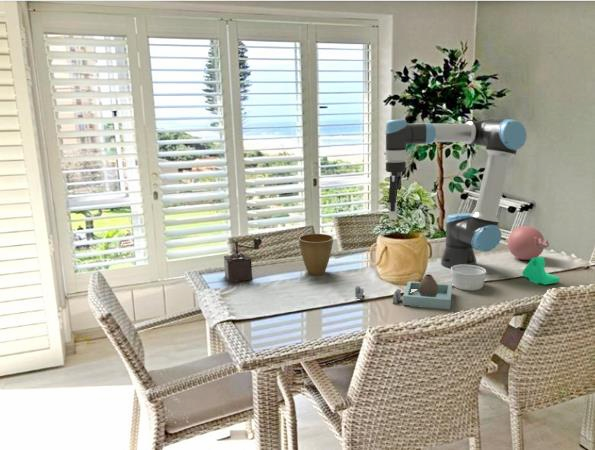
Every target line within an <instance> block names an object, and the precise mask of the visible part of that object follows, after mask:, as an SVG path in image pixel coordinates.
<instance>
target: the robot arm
mask: <svg viewBox="0 0 595 450" xmlns="http://www.w3.org/2000/svg"><path fill="white" fill-rule="evenodd" d="M526 141H527V130H526V127H525V126H524V124H523V123H522V122H521V121H519V120H518V119H517V120H516V119H510V118H506V119H505V118H504V119H503V118H498V119H495V118H488V119H482V120H474V121H473V120H471V121H470V120H469V121H466V122H464V123H426V122H425V123H419V122H417V123H411V122H410V123H407V120H406V119H391V120H390V119H389V120H387V121H386V125H385V152H384V153H383V154H384V155H385V160H386V162H385V171H386V172H387V173H391V175H390V176H389V188H388V189H389V191H388V199H387V201H386V203H387V204H388V205H389V206H388V207H389V208H388V209H389V210H388V212H389V213H388V220H391V221H393V220H394V221H395V220H397V217H398V216H397V214H398V212H397V202H396V198H397V190H398V189H399V190H400V189H401V188H402V173H404V172H405V171H406V170H407V169H406V168H407V167H406V166H407V163H406V160H407V146H408V145H423V144H424V145H426V144H431V143H464V144H465V145H474V146H481V147H484V148H485V147H486V148H485V152H486V153H487V159H486V164H485V168H484V172H483V176H482V180H481V184H480V188H479V193H478V196H477V197H478V198H477V201H476V205H475V209H474V212H472V213H470V212H469V213H467V212H465V213H452V214H449V215H447V216H446V222H445V247H444V250H443V252H442V256H441V259H440V264H441V265H442V266H443V267H446V268H450V269H451V267H453V266H456V265H475V266H477V257H476V254H475V251H474V250H476V251H481V252H490V251H492V250H493V249H496V247H497V246H498V245H499V244H500V242H501V239H502V232H501V229H500V228H499V223H500V220H499V219H498V217H497V215H498V209H499V206H500V203H501V198H502V194H503V189H504V186H505V183H506V179H507V178H506V177H507V174H508V171H509V166H510V162H511V159H513V158H514V157H515V156H516V155H517V150H520V149H521V148H522V147H523V146H524V145H525V144H526Z"/></svg>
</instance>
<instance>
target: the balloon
mask: <svg viewBox="0 0 595 450" xmlns="http://www.w3.org/2000/svg"><path fill="white" fill-rule="evenodd" d="M549 246H550V243H549V240H548V239H545V238H544V235H543V234H542V232H541V231H540V230H539V229H537V228H535V227H533V226H529V225H528V226H527V225H523V226H519V227H516V228H515V229H513V231H511V233H510V234H509V236H508V238H507V248H508V250H509V252H510V253H511V255H512V256H514V257H515V258H516V259H519V260H522V261H530V260H531V259H532V258H535V257H540V255H542V253H543V252H544V250H545V249H546V248H548V247H549Z"/></svg>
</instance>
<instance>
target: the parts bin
mask: <svg viewBox="0 0 595 450" xmlns="http://www.w3.org/2000/svg"><path fill="white" fill-rule="evenodd" d="M420 282H421V281H410V280H409V281H407V284H406V286H405V289H404V292H403V295H402V306H404V305H412V306H411V307H416V306H422V307H421V308H427V307H431V308H430V309H441V310H451V303H452V294H453V283H452V284H451V283H440V282H439V283H438V282H436V283H437V285H438V293H437V295H436V297H426V296H421V295H420V293H419V284H420ZM411 289H418V291H416V292H412V293H410V292H411Z"/></svg>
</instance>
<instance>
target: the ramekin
mask: <svg viewBox="0 0 595 450" xmlns="http://www.w3.org/2000/svg"><path fill="white" fill-rule="evenodd" d="M450 273H451V283H452V286H454V287H455V288H456V289H460V290H462V291H463V290H464V291H478V290H481V289H482V288H483V286H484V285H485V280H486V279H485V278H486V275H487V270H486V269H485V268H484V267H481V266H478V265H476V266H475V265H456V266H453V267H451V268H450Z"/></svg>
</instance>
